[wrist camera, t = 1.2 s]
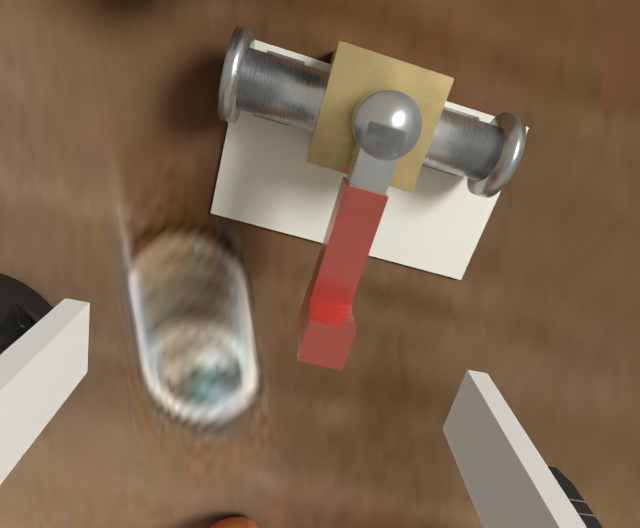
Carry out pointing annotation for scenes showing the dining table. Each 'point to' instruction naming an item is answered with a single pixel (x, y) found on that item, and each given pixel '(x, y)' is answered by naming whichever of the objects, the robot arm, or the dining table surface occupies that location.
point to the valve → (344, 95)
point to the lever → (355, 224)
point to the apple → (235, 523)
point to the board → (322, 189)
